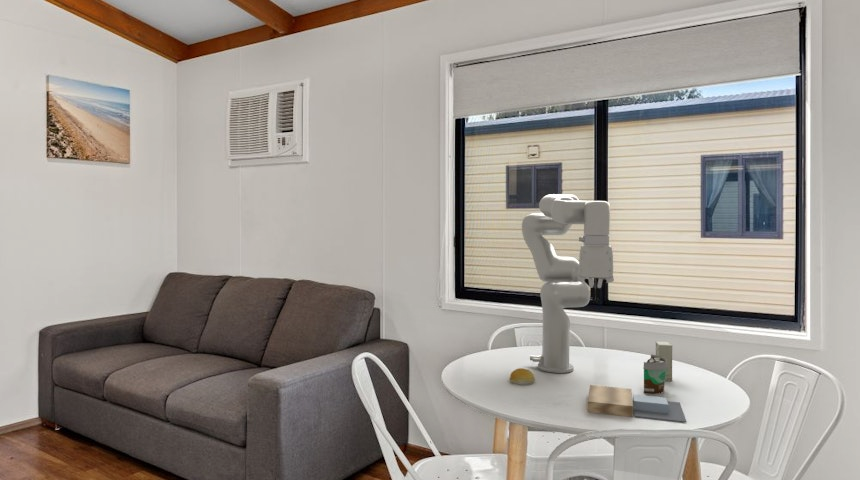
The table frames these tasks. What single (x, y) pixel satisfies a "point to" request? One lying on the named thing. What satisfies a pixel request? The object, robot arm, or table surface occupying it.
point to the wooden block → (610, 400)
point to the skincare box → (665, 351)
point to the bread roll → (522, 377)
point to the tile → (650, 403)
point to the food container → (654, 374)
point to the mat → (673, 413)
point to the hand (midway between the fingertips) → (595, 300)
